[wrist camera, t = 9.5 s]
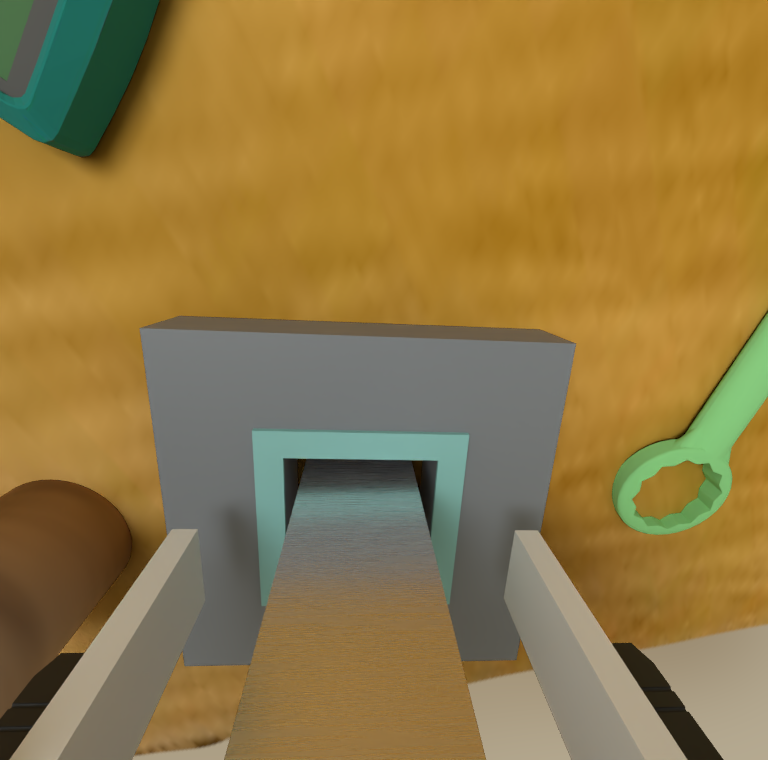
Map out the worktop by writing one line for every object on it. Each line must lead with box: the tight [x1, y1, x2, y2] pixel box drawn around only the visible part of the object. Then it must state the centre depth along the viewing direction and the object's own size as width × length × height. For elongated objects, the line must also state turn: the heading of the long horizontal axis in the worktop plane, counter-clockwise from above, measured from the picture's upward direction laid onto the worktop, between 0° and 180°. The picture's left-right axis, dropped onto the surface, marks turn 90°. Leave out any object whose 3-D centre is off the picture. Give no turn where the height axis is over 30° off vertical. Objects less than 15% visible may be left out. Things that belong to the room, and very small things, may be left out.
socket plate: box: [140, 316, 576, 666], centre depth 16 cm, size 14×14×3 cm
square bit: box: [224, 459, 486, 760], centre depth 11 cm, size 4×4×13 cm
